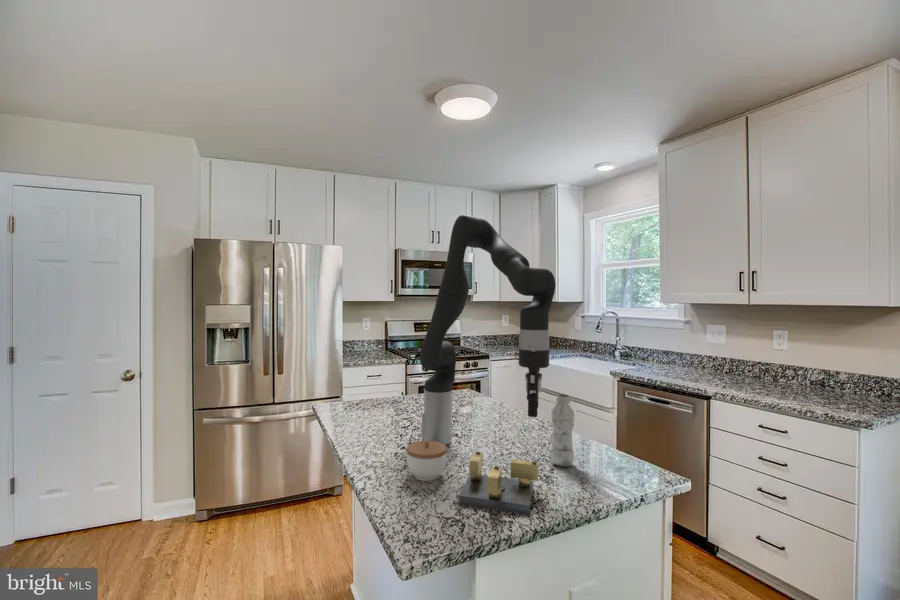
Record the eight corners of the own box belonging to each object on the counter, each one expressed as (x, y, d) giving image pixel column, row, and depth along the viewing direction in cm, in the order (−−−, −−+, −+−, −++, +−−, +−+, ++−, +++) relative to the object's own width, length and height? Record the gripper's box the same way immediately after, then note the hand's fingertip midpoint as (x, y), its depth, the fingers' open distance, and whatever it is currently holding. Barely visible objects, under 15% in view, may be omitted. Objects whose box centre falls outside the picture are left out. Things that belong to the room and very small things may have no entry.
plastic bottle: (561, 471, 117) (562, 399, 117) (545, 462, 123) (546, 394, 123) (578, 467, 120) (580, 397, 120) (562, 459, 126) (563, 392, 126)
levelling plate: (458, 504, 97) (459, 489, 97) (470, 481, 109) (470, 468, 109) (529, 514, 93) (529, 499, 93) (533, 489, 105) (533, 476, 105)
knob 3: (510, 485, 102) (510, 461, 102) (511, 480, 105) (512, 457, 105) (537, 488, 101) (537, 464, 101) (537, 483, 103) (538, 460, 103)
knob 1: (479, 484, 103) (479, 460, 103) (467, 482, 103) (468, 459, 103) (483, 473, 109) (484, 451, 109) (473, 472, 109) (473, 450, 109)
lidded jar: (399, 480, 109) (399, 444, 109) (416, 465, 119) (417, 432, 119) (437, 487, 105) (438, 450, 105) (452, 471, 115) (452, 437, 115)
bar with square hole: (498, 502, 93) (499, 477, 93) (486, 501, 94) (486, 475, 94) (502, 490, 99) (503, 466, 99) (491, 488, 100) (491, 464, 100)
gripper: (520, 344, 113) (520, 404, 113) (516, 349, 99) (515, 418, 99) (549, 345, 111) (548, 406, 111) (549, 351, 98) (548, 421, 97)
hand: (533, 412), depth 105 cm, fingers open, 8 cm apart
